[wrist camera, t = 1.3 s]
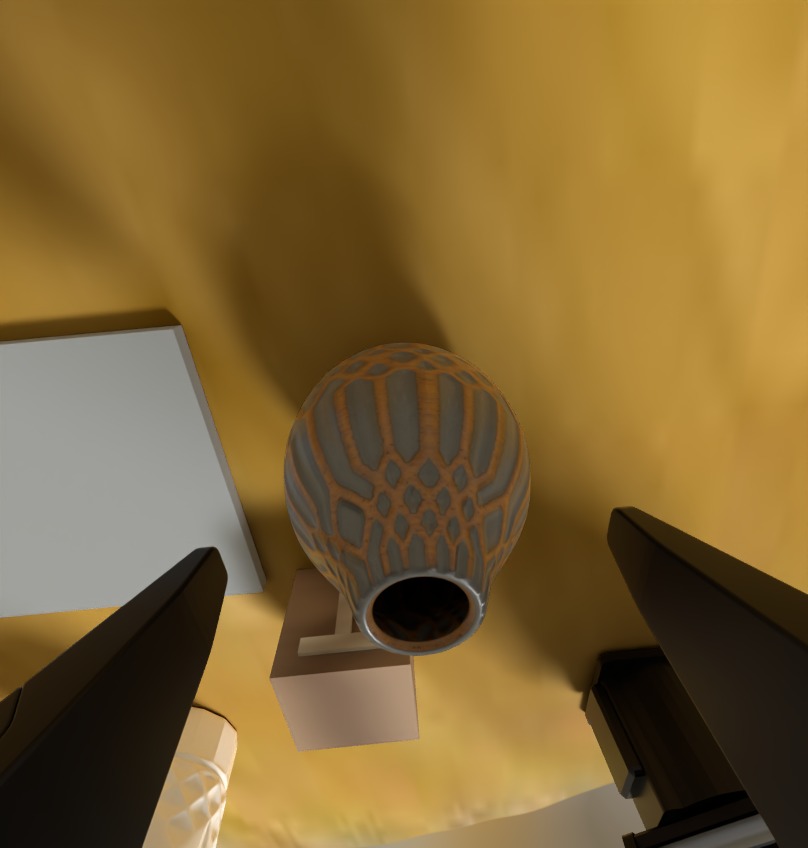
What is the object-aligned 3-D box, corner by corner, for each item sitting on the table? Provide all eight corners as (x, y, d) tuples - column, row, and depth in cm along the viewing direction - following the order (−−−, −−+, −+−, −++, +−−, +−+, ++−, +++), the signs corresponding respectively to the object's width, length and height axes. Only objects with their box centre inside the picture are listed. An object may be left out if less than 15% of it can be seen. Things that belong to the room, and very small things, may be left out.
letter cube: (403, 555, 18) (410, 661, 14) (411, 628, 21) (419, 739, 16) (296, 565, 18) (267, 675, 14) (316, 637, 21) (297, 751, 16)
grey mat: (181, 325, 13) (172, 329, 12) (266, 581, 18) (263, 592, 18) (-183, 357, 13) (-207, 363, 12) (10, 606, 18) (-2, 617, 18)
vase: (311, 485, 16) (244, 726, 8) (305, 314, 13) (192, 441, 5) (475, 490, 17) (558, 721, 9) (506, 328, 14) (674, 461, 6)
